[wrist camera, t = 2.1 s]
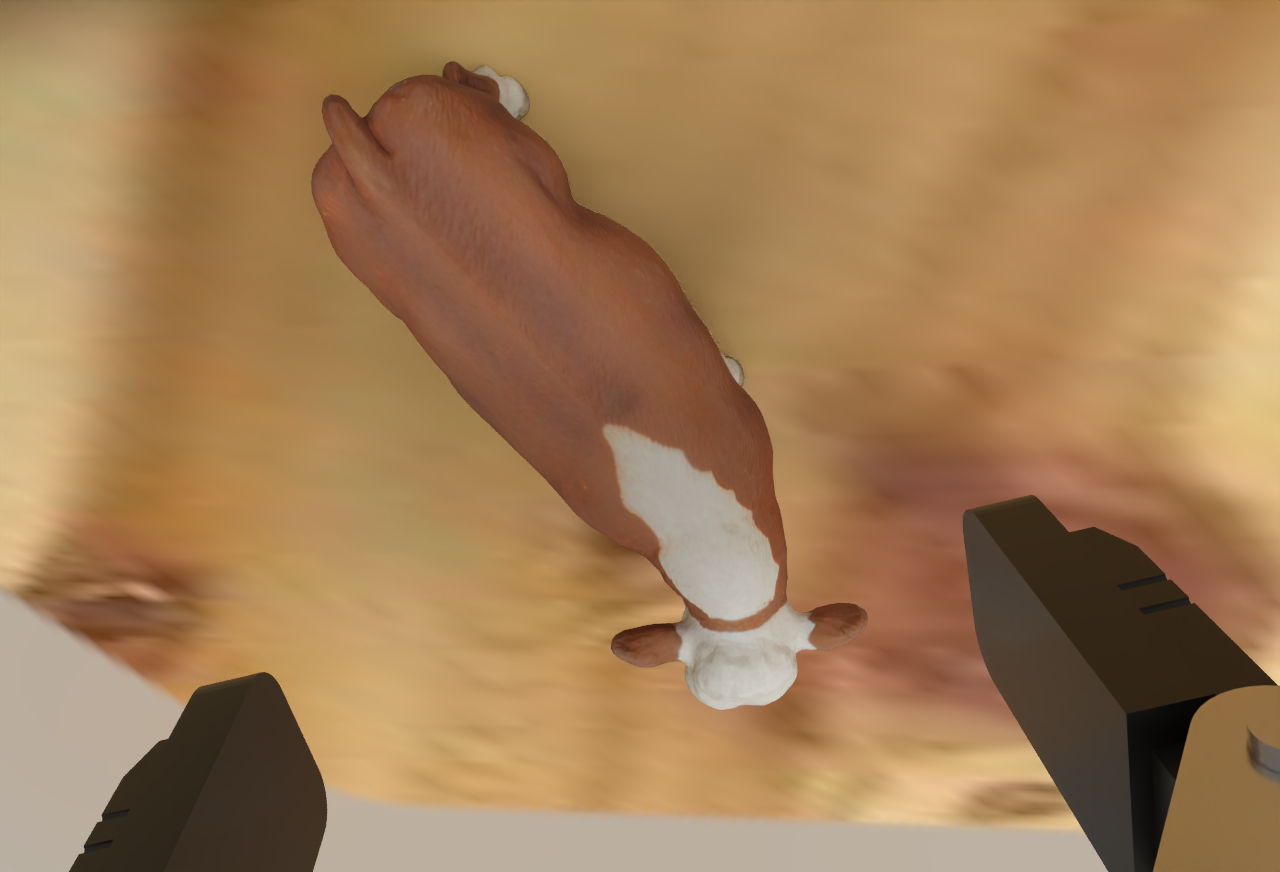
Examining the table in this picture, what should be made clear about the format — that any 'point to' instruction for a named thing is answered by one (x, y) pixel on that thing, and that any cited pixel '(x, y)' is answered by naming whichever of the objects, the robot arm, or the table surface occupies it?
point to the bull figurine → (577, 363)
